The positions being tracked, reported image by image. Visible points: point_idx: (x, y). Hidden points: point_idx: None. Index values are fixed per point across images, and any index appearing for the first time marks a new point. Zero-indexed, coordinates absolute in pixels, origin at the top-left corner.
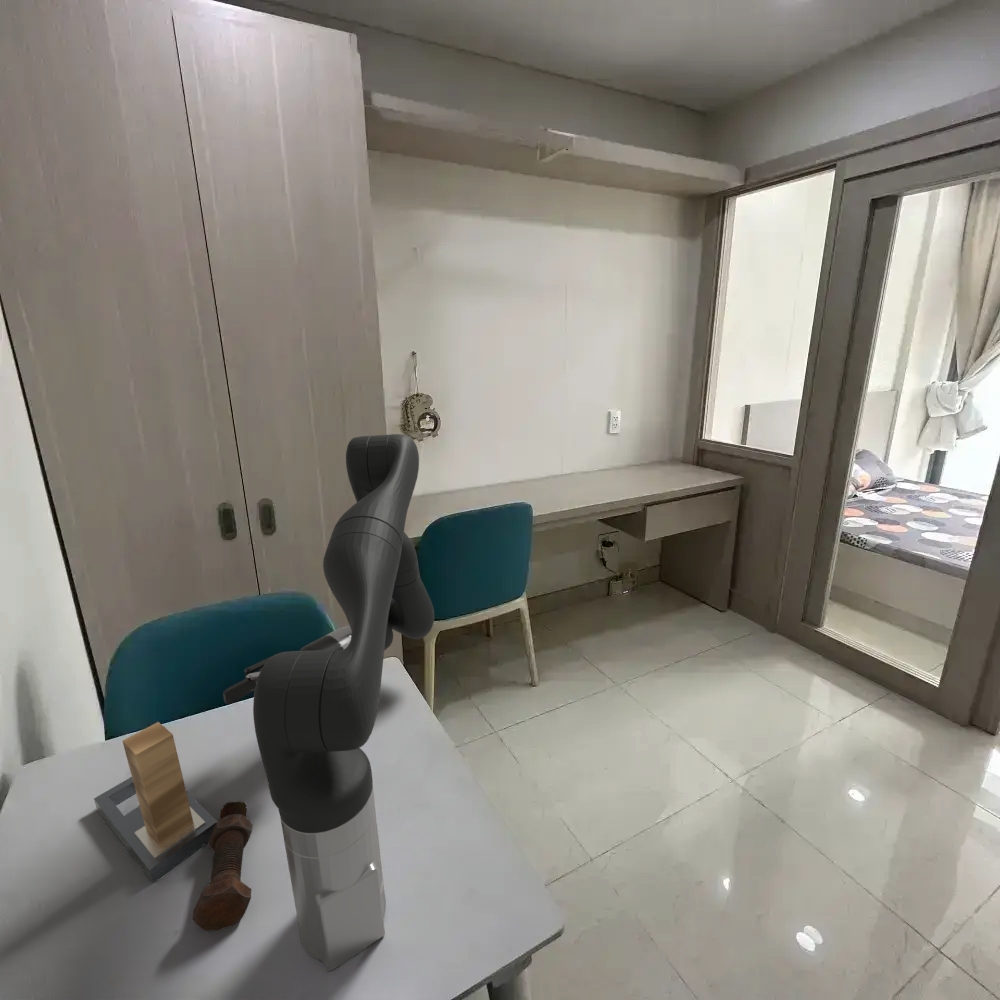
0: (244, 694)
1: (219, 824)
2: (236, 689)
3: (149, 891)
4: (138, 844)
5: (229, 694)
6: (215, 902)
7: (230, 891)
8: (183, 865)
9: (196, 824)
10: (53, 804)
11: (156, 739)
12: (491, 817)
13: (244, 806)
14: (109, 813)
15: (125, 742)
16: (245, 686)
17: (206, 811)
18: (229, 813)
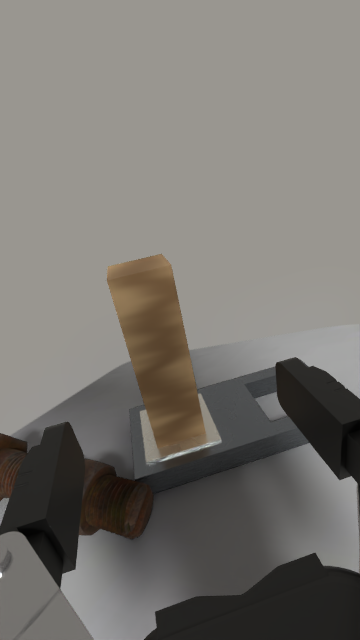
0: (319, 446)
1: (87, 462)
2: (300, 392)
3: (126, 422)
4: None
5: (283, 379)
6: None
7: None
8: (129, 451)
9: (152, 451)
10: (334, 346)
11: (117, 271)
12: None
13: (120, 524)
14: (259, 373)
15: (153, 256)
16: (324, 426)
17: (171, 467)
18: (106, 485)
